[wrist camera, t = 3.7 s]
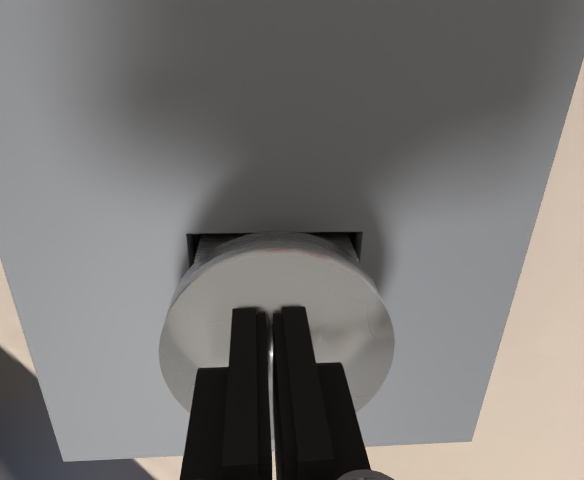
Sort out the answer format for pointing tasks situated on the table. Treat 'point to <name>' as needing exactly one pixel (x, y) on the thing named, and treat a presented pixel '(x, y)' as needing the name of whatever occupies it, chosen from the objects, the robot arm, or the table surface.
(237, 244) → the grey plunger
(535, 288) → the table surface
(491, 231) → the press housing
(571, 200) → the table surface
